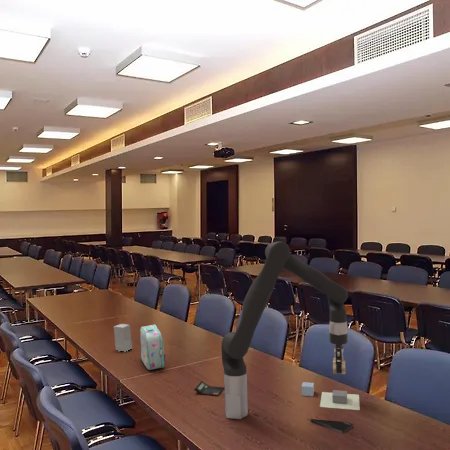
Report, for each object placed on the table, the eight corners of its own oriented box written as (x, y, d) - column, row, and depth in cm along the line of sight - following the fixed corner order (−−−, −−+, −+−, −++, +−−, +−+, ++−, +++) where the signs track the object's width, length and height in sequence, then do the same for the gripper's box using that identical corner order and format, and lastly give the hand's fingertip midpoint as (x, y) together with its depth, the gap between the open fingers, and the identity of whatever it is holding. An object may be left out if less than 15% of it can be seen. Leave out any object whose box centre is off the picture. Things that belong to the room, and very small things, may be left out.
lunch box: (167, 371, 242) (166, 330, 241) (148, 373, 238) (146, 333, 238) (157, 356, 267) (155, 320, 266) (139, 359, 263) (138, 322, 263)
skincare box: (132, 350, 281) (131, 324, 281) (124, 353, 275) (123, 327, 275) (122, 348, 286) (121, 323, 285) (114, 351, 280) (113, 325, 279)
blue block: (313, 398, 202) (313, 387, 202) (301, 397, 203) (301, 386, 203) (314, 393, 207) (313, 382, 207) (302, 393, 208) (302, 382, 208)
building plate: (359, 411, 187) (359, 410, 187) (319, 408, 191) (319, 406, 191) (358, 396, 202) (358, 394, 202) (322, 393, 206) (321, 391, 206)
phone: (320, 413, 185) (353, 424, 174) (320, 415, 185) (353, 427, 175) (309, 419, 179) (343, 431, 169) (309, 422, 179) (343, 434, 169)
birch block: (345, 374, 193) (345, 362, 193) (333, 373, 194) (332, 361, 194) (345, 370, 198) (345, 358, 198) (333, 369, 199) (333, 358, 199)
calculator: (218, 397, 207) (218, 390, 206) (194, 394, 210) (194, 388, 210) (224, 389, 216) (224, 382, 215) (201, 387, 219) (201, 380, 219)
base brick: (347, 404, 193) (347, 396, 193) (332, 402, 194) (332, 395, 194) (347, 398, 199) (347, 391, 198) (333, 397, 200) (332, 390, 200)
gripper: (330, 327, 204) (330, 364, 204) (328, 335, 190) (329, 376, 190) (347, 327, 202) (348, 365, 202) (347, 336, 188) (348, 377, 188)
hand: (339, 370), depth 196 cm, fingers closed on birch block, 5 cm apart
